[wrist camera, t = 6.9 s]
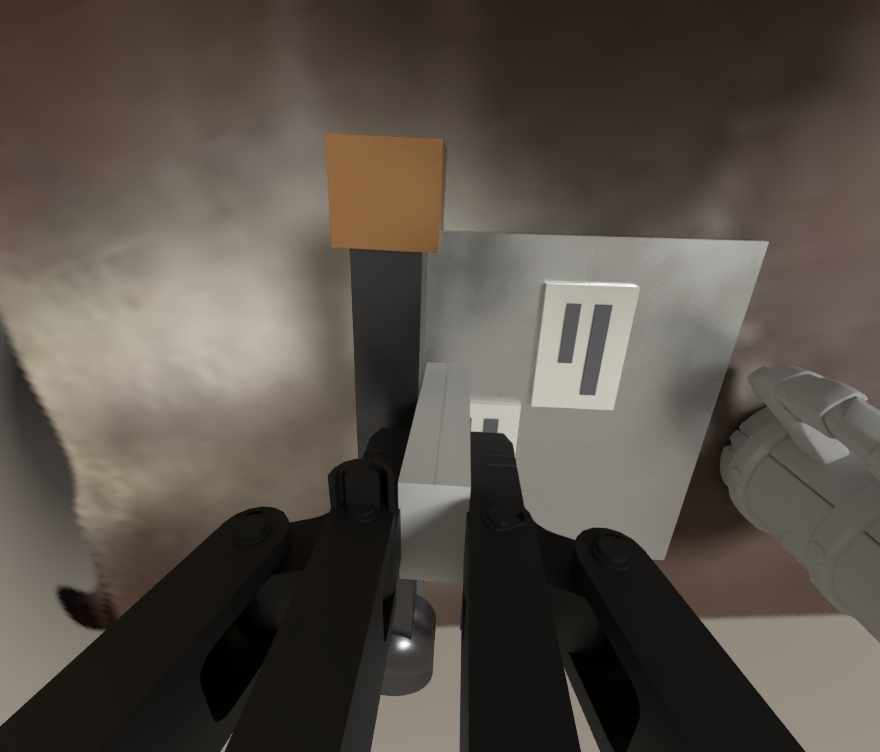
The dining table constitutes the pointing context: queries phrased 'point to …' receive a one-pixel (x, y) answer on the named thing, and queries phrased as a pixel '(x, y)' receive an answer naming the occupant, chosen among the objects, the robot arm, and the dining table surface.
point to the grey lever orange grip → (390, 320)
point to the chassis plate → (643, 374)
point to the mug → (814, 482)
